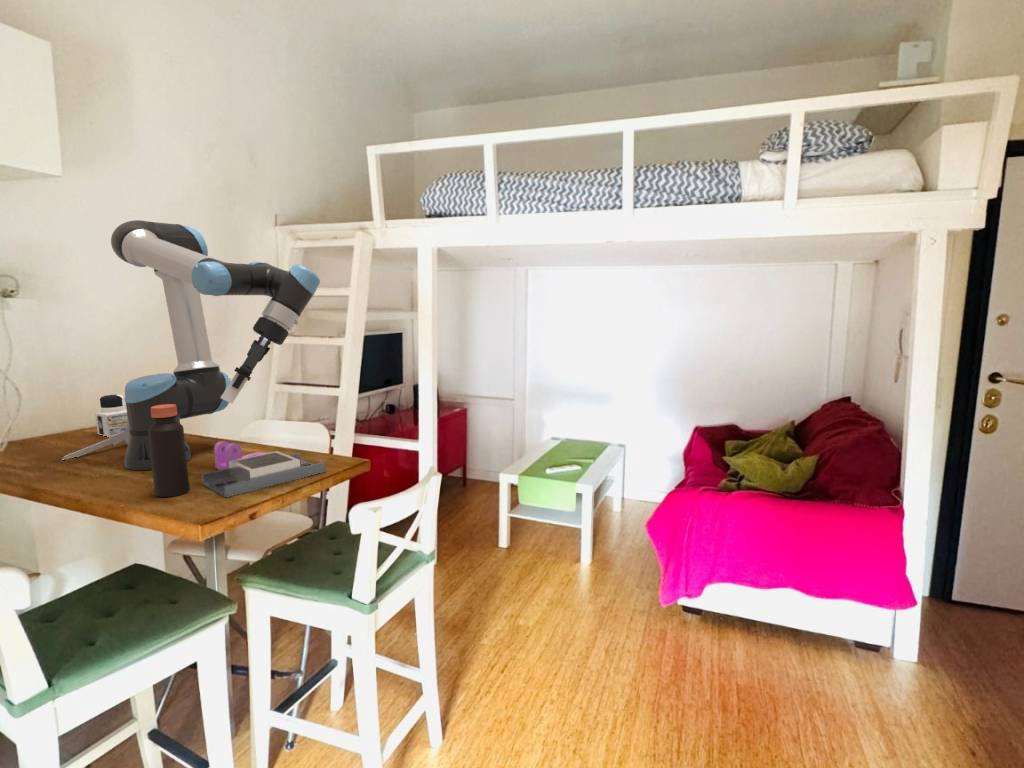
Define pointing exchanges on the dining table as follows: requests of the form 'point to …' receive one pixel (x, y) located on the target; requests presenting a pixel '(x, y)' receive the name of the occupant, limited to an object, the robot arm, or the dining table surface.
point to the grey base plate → (259, 473)
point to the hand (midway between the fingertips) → (226, 400)
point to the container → (111, 415)
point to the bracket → (228, 454)
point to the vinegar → (168, 452)
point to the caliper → (102, 444)
